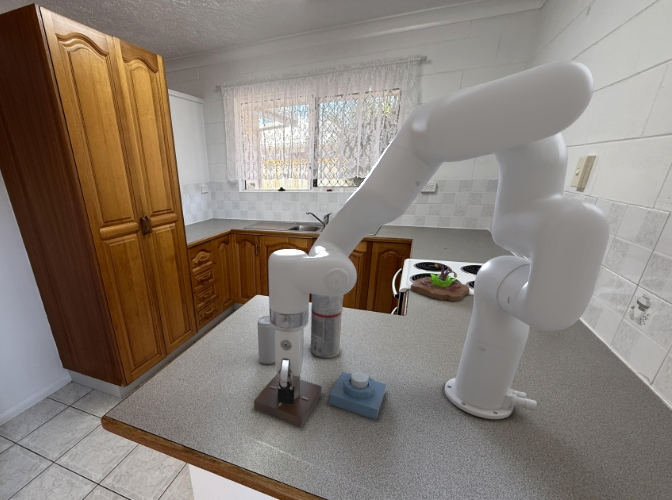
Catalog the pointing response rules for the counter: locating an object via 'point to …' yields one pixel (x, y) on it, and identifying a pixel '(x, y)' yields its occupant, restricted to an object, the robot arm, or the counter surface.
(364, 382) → the white button cap
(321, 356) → the spray can
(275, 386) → the base
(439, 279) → the plant
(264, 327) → the beverage can
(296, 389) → the lock knob
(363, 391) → the button base
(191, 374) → the counter surface
